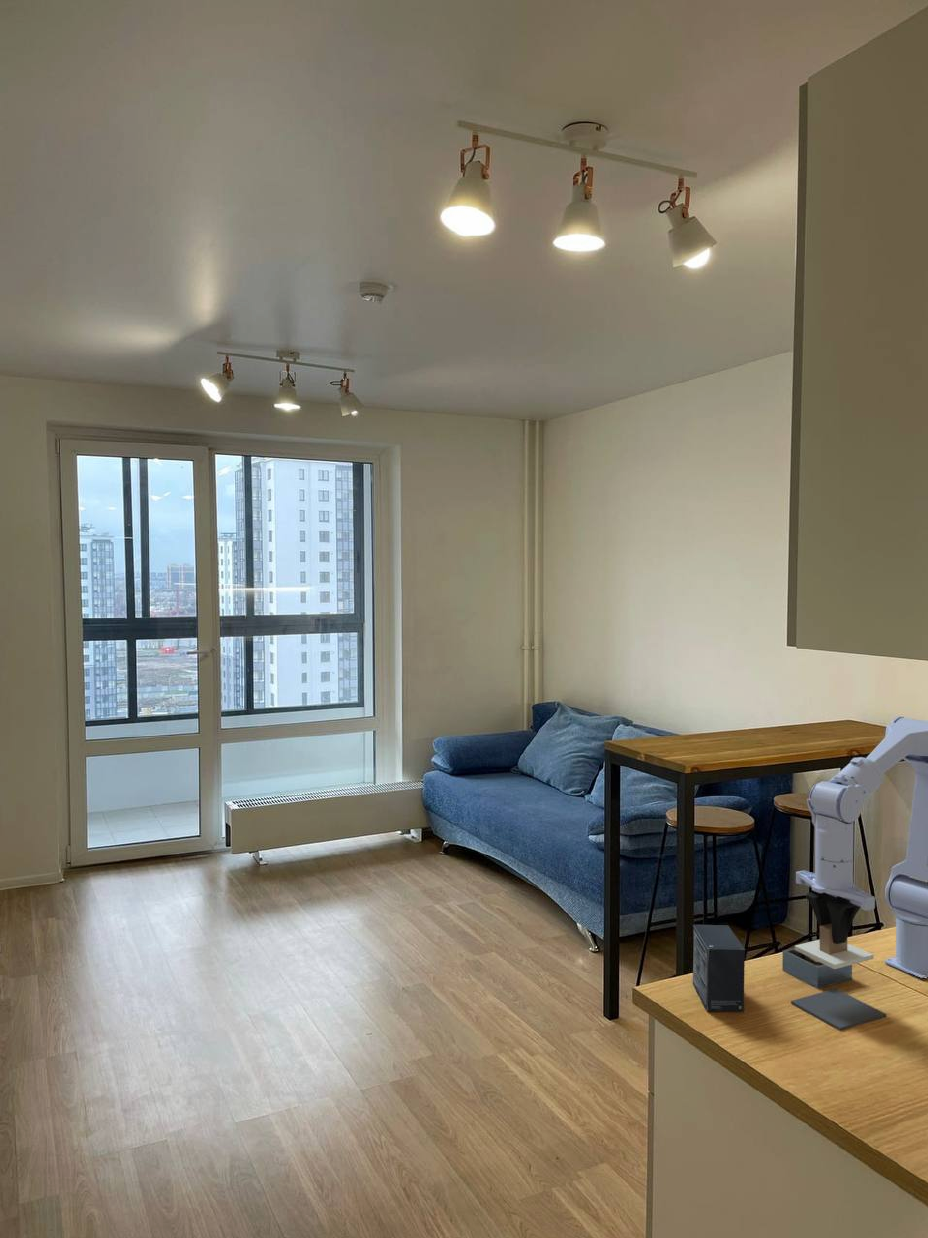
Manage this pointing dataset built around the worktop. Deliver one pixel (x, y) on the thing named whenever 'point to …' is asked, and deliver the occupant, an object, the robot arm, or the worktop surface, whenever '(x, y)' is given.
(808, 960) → the tin
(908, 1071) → the worktop surface
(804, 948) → the lid
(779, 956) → the worktop surface
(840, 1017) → the mat
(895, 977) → the worktop surface
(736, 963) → the small box
